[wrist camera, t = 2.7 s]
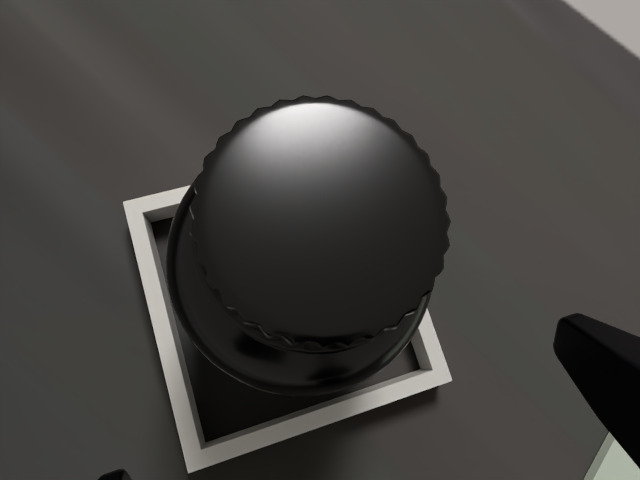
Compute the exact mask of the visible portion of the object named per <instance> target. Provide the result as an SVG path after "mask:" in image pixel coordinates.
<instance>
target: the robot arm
mask: <svg viewBox="0 0 640 480" xmlns="http://www.w3.org/2000/svg"><path fill="white" fill-rule="evenodd" d="M553 348H554V352H555V354H556V356H557V358H558V359H559V361H560V362H561V364H562V365H563V367H564V368H565V370H566V371H567V373H568V374H569V376H570V377H571V379H572V380H573V382H574V383H575V385H576V386H577V388H578V389H579V391H580V392H581V394H582V395H583V397H584V398H585V400H586V401H587V403H588V404H589V406H590V407H591V409H592V410H593V411H594V413H595V414H596V416H597V417H598V418H599V420H600V421H601V422H602V423H603V425H604V426H605V427H606V428H607V430H608V431H609V432H610V433H611V435H612V436H613V437H614V438H615V440H616V441H617V442H618V443H619V444H620V446H621V447H622V448H623V449H624V451H625V452H626V453H627V454H628V455H629V457H630V458H631V459H632V460H633V462H634V463H635V464H636V465H637V466H638V468H639V469H640V337H638V336H635V335H633V334H630V333H628V332H625V331H623V330H620V329H618V328H615V327H613V326H610V325H608V324H605V323H603V322H600V321H598V320H595V319H593V318H590V317H588V316H585V315H583V314H579V313H575V314H571V315H568V316H566V317H563V318H561V319H560V320H559V321H558V323H557V328H556V333H555V338H554V343H553ZM98 480H132V479H131V478H130V476H129V474H128V473H127V471H126V470H124V469H118V470H115V471H112V472H110V473H107V474H104V475H102V476H101V477H100V478H99V479H98Z"/></svg>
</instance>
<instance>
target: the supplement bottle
mask: <svg viewBox="0 0 640 480" xmlns="http://www.w3.org/2000/svg"><path fill="white" fill-rule="evenodd" d="M446 205H447V196H446V195H445V193H444V191H443V190H442V189H441V187H440V175H439V174H438V173H437V171H436V170H435V169H434V168H433V167H432V166H431V164H430V159H429V156H428V154H427V153H426V152H425V151H424V150H422V149H420V148H419V147H418V146H417V143H416V141H415V139H414V137H413V136H412V135H411V134H409V133H407V132H405V131H403V130H401V128H400V127H399V126H398V124H397V123H396V122H395V121H394V120H392V119H390V118H385V117H383V116H382V115H381V114H380V113H378V112H377V111H376V110H375V109H374V108H370V107H361V106H360V105H358V104H357V103H355V102H354V101H352V100H337V99H335V98H333V97H330V96H322V97H318V98H313V97H309V96H304V95H303V96H301V97H298V98H297V99H295V100H279V101H277V102H276V103H274V104H273V105H272V106H270V107H262V108H257V109H256V110H255V111H254V112H253V114H252V115H251V116H250V117H248V118H244V119H241V120H239V121H237V122H236V123H235V125H234V126H233V128H232V130H231V131H230V132H228V133H226V134H224V135H223V136H221V137H219V139H218V141H217V144H216V148H215V150H213V151H212V152H210V153H209V154H208V155H207V156H206V157H205V158H204V163H203V171H202V172H201V173H200V174H199V175H198V177H197V178H196V179H195V181H194V182H193V183H192V184H191V186H190V187H189V189H188V190H187V192H186V193H185V195H184V197H183V198H182V200H181V202H180V204H179V206H178V208H177V210H176V213H175V216H174V218H173V221H172V224H171V228H170V232H169V235H168V242H167V248H166V276H167V283H168V289H169V293H170V296H171V300H172V303H173V306H174V309H175V311H176V314H177V316H178V318H179V320H180V322H181V324H182V326H183V328H184V330H185V331H186V333H187V334H188V336H189V337H190V339H191V340H192V342H193V343H194V344H195V345H196V347H197V348H198V349H199V350H200V351H201V352H202V353H203V354H204V355H205V357H206V358H207V359H208V360H209V361H210V362H212V363H213V364H214V365H215V366H217V367H218V368H219V369H220V370H222V371H223V372H225V373H226V374H228V375H229V376H231V377H232V378H234V379H236V380H238V381H240V382H242V383H244V384H246V385H248V386H251V387H253V388H256V389H259V390H262V391H266V392H269V393H274V394H280V395H287V396H316V395H323V394H329V393H333V392H337V391H341V390H344V389H347V388H350V387H352V386H355V385H357V384H359V383H361V382H363V381H365V380H367V379H369V378H370V377H372V376H374V375H375V374H377V373H378V372H380V371H381V370H382V369H383V368H385V367H386V366H387V365H389V364H390V363H391V362H392V361H393V360H394V359H395V358H396V357H397V356H398V355H399V354H400V353H401V352H402V350H403V349H404V348H405V347H406V346H407V344H408V343H409V341H410V340H411V339H412V337H413V336H414V334H415V332H416V331H417V329H418V327H419V325H420V323H421V321H422V319H423V317H424V314H425V312H426V309H427V306H428V303H429V300H430V296H431V292H432V290H433V286H434V281H435V277H436V276H438V275H439V274H440V273H441V272H442V271H443V269H444V254H445V253H446V251H447V250H448V248H449V246H450V245H449V239H448V236H447V231H448V228H449V226H450V222H451V221H450V218H449V215H448V214H447V211H446Z"/></svg>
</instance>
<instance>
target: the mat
mask: <svg viewBox="0 0 640 480" xmlns="http://www.w3.org/2000/svg"><path fill="white" fill-rule="evenodd" d="M584 480H640V469H639V468H638V466H637V465H636V464H635V463H634V462H633V460H632V459H631V458H630V457H629V455H628V454H627V453H626V452H625V451H624V449H623V448H622V447H621V446H620V444H619V443H618V442H617V441H616V440H615V438H614V437H613V436H612V435H611V433H610V432H609V433H608V435H607V437H606V438H605V440H604V442H603V444H602V446H601V448H600V450H599V452H598V453H597V455H596V457H595V459H594V461H593V463H592V465H591V466H590V468H589V470H588V472H587V474H586V476H585V478H584Z"/></svg>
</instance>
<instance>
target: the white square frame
mask: <svg viewBox="0 0 640 480" xmlns="http://www.w3.org/2000/svg"><path fill="white" fill-rule="evenodd" d="M190 186H191V185H190ZM190 186H186V187H182V188H178V189H174V190H170V191H166V192H161V193H157V194H153V195H149V196H145V197H141V198H137V199H133V200H129V201H125V202H123V204H124V208H125V213H126V217H127V221H128V225H129V229H130V233H131V238H132V242H133V246H134V250H135V254H136V258H137V263H138V267H139V271H140V275H141V279H142V283H143V288H144V292H145V296H146V300H147V304H148V308H149V313H150V317H151V321H152V325H153V329H154V334H155V338H156V342H157V346H158V350H159V354H160V359H161V363H162V367H163V371H164V375H165V379H166V384H167V388H168V392H169V396H170V400H171V404H172V409H173V413H174V417H175V421H176V425H177V429H178V434H179V438H180V442H181V446H182V450H183V454H184V459H185V463H186V467H187V471H188V473H191V472H194V471H197V470H200V469H203V468H205V467H208V466H211V465H214V464H217V463H220V462H223V461H225V460H228V459H231V458H234V457H237V456H240V455H242V454H245V453H248V452H251V451H254V450H257V449H260V448H262V447H265V446H268V445H271V444H274V443H277V442H279V441H282V440H285V439H288V438H291V437H294V436H297V435H299V434H302V433H305V432H308V431H311V430H314V429H316V428H319V427H322V426H325V425H328V424H331V423H334V422H336V421H339V420H342V419H345V418H348V417H351V416H354V415H356V414H359V413H362V412H365V411H368V410H371V409H373V408H376V407H379V406H382V405H385V404H388V403H391V402H393V401H396V400H399V399H402V398H405V397H408V396H410V395H413V394H416V393H419V392H422V391H425V390H428V389H430V388H433V387H436V386H439V385H442V384H445V383H447V382H450V381H452V378H451V375H450V372H449V369H448V367H447V364H446V361H445V358H444V355H443V352H442V349H441V347H440V344H439V341H438V338H437V335H436V332H435V329H434V326H433V324H432V321H431V318H430V315H429V312H428V309H426V312H425V314H424V317H423V319H422V321H421V323H420V325H419V327H418V329H417V331H416V332H415V334H414V336H413V337H412V339H411V342H412V345H413V348H414V351H415V354H416V357H417V360H418V363H419V366H420V369H419V370H416V371H413V372H410V373H407V374H405V375H402V376H399V377H396V378H393V379H390V380H387V381H384V382H381V383H378V384H375V385H372V386H369V387H367V388H364V389H361V390H358V391H355V392H352V393H349V394H346V395H343V396H340V397H337V398H334V399H331V400H328V401H326V402H323V403H320V404H317V405H314V406H311V407H308V408H305V409H302V410H299V411H296V412H293V413H290V414H288V415H285V416H282V417H279V418H276V419H273V420H270V421H267V422H264V423H261V424H258V425H255V426H252V427H250V428H247V429H244V430H241V431H238V432H235V433H232V434H229V435H226V436H223V437H220V438H217V439H214V440H211V441H209V442H206V443H205V439H204V435H203V431H202V427H201V423H200V419H199V415H198V411H197V407H196V403H195V399H194V395H193V390H192V386H191V382H190V378H189V374H188V370H187V366H186V362H185V358H184V354H183V350H182V346H181V342H180V338H179V334H178V330H177V326H176V322H175V318H174V314H173V310H172V306H171V302H170V298H169V294H168V290H167V286H166V282H165V278H164V274H163V270H162V266H161V262H160V258H159V254H158V250H157V246H156V242H155V238H154V234H153V230H152V226H151V222H155V221H159V220H163V219H167V218H171V217H174V216H175V213H176V210H177V208H178V206H179V204H180V202H181V200H182V198H183V197H184V195H185V193H186V192H187V190H188V189H189V187H190Z"/></svg>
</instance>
